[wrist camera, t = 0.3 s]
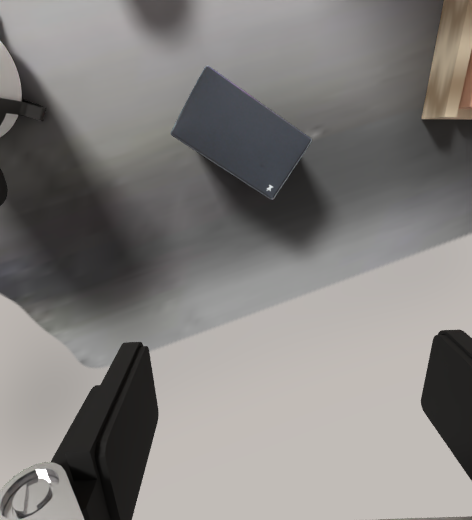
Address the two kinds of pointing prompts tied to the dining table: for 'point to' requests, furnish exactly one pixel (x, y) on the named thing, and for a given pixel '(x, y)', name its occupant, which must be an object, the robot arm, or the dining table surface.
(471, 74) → the cover plate
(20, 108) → the coffee press
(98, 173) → the dining table surface
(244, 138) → the small box
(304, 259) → the dining table surface
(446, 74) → the wooden tray
